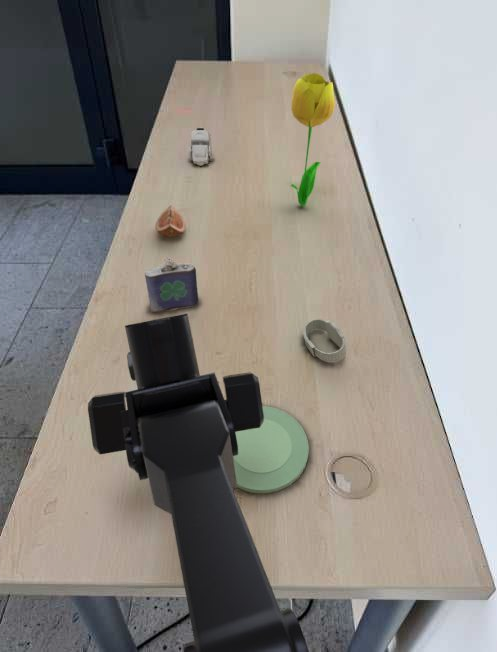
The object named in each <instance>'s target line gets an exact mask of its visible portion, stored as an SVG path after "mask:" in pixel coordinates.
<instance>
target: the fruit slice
mask: <svg viewBox="0 0 497 652" xmlns="http://www.w3.org/2000/svg"><path fill="white" fill-rule="evenodd" d="M186 228H187V227H186V222H185V220H184V219H183V217H182V215H181V214H180V213H179V211H178V210H177V209H176V208H175V207H174V206H172V205H169V206H168V207H167V208H166V209H164V210H163V211H162V212H161V213H160V215H159V216H158V218H157V219H156V223H155V230H156V231H157V232H158V233H159V234H161V235H164V236H166V237H175V236H179V235H181V234H183V233H184V232H185V231H186Z"/></svg>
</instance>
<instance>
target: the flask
mask: <svg viewBox="0 0 497 652" xmlns="http://www.w3.org/2000/svg"><path fill="white" fill-rule="evenodd" d="M164 261H165V264H164V265H163V266H158V267H154V268H153V267H152V268H150V269H147V270H146V271H145V273H144V278H145V283H146V289H147V297H148V301H149V307H150V310H151V312H152V313H159V314H160V313H164V312H173V311H176V310H178V309H181V310H182V309H184V308H186V309H187V308H195V307H197V305H199V293H198V281H197V280H198V279H197V269H196V267H195V265H194V264H192V263H187V262H186V263H185V262H184V263H176V262H174V261H173V260H172V257H167V258H165V259H164ZM172 261H173V262H172Z"/></svg>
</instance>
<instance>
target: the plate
mask: <svg viewBox="0 0 497 652" xmlns="http://www.w3.org/2000/svg"><path fill="white" fill-rule="evenodd" d="M262 407H263V414H264V422H263V423H262V425H261V427H260V428H254V429H248V430H243V431H237V432H235V434H236V438H237V444H238V455H236V456H233V460H234V467H235V474H236V480H237V483H236V485H235V487H236V488H238V489H240V490H242V491H245V492H248V493H252V494H253V493H254V494H271V493H276V492H279V491H281V490H284V489H286V488H288V487H290V486H291V485H292V484H293V483H295V482H296V481H297V480H298V479H299V478H300V477H301V475H302V474H303V472H304V471H305V469H306V466H307V463H308V459H309V452H310V448H309V447H310V445H309V441H308V438H307V434H306V432H305V430H304V428H303V427H302V425H301V424H300V423H299V422H298V420H297V419H296V418H295V417H293V416H292V415H290V414H288V413H287V412H286V411H283V410H281V409H279V408H276V407H272V406H268V405H267V406H266V405H262Z"/></svg>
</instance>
